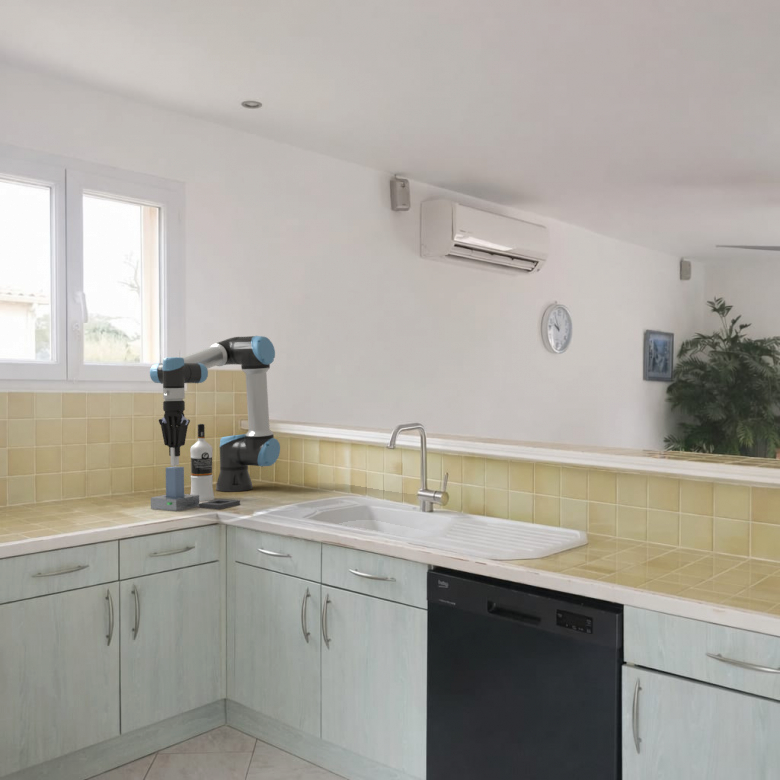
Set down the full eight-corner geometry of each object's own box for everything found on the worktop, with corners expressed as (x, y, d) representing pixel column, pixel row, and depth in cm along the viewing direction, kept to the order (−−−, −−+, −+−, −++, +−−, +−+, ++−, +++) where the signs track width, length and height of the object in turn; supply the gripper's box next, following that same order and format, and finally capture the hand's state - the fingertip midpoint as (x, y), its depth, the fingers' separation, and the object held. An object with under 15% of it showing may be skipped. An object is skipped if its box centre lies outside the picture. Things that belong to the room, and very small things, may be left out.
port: (174, 506, 299) (174, 493, 299) (199, 508, 294) (199, 495, 293) (149, 511, 288) (149, 497, 288) (174, 514, 282) (174, 500, 282)
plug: (174, 504, 294) (174, 466, 294) (184, 505, 292) (183, 466, 292) (166, 506, 290) (165, 467, 290) (175, 507, 288) (175, 468, 288)
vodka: (211, 499, 316) (210, 422, 315) (216, 502, 308) (216, 424, 307) (187, 501, 312) (186, 423, 311) (192, 504, 303) (191, 425, 303)
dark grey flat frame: (220, 505, 300) (220, 498, 300) (240, 507, 296) (240, 500, 296) (199, 510, 290) (199, 503, 290) (218, 512, 286) (218, 505, 285)
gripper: (152, 400, 290) (153, 465, 290) (180, 400, 284) (181, 467, 284) (167, 399, 297) (168, 463, 297) (194, 399, 290) (195, 465, 291)
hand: (174, 465), depth 291 cm, fingers closed
